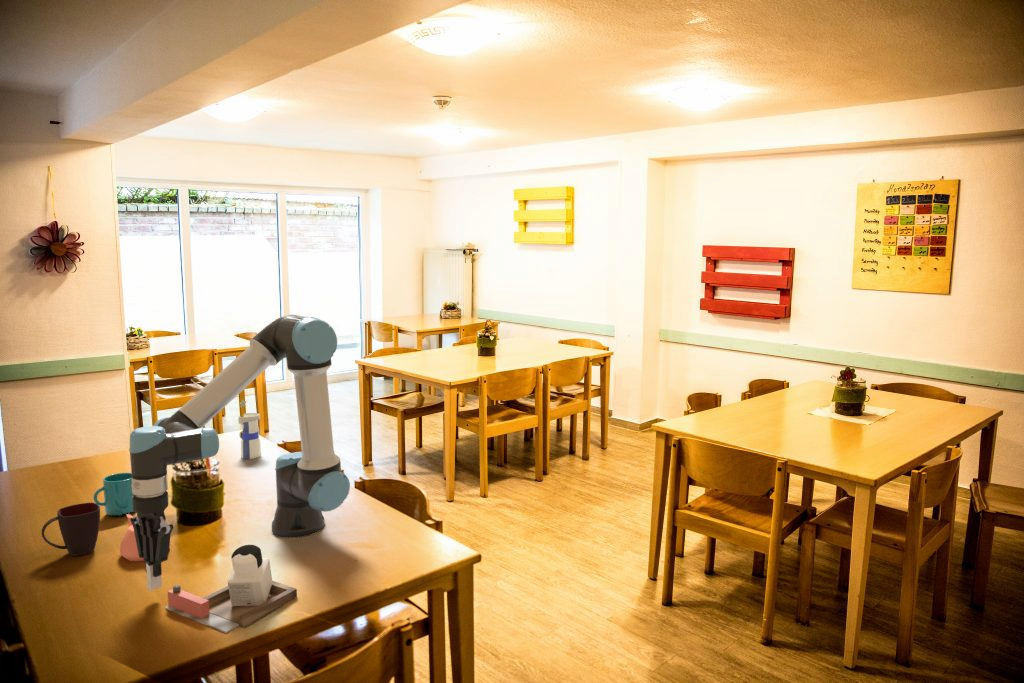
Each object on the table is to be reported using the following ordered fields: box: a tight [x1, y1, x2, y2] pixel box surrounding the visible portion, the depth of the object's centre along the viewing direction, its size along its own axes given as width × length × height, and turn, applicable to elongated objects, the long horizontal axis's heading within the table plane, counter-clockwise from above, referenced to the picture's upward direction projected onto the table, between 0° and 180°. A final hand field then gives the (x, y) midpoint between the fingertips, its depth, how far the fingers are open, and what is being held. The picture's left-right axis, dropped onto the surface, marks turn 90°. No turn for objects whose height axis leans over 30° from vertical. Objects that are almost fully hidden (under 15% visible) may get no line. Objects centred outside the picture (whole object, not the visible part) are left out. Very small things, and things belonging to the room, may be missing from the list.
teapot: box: [119, 513, 171, 563], centre depth 195 cm, size 12×18×10 cm
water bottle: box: [237, 399, 262, 460], centre depth 274 cm, size 8×9×25 cm
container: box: [227, 544, 273, 606], centre depth 167 cm, size 8×8×13 cm
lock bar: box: [167, 584, 210, 619], centre depth 164 cm, size 12×2×5 cm, turn 61°
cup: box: [92, 472, 134, 516], centre depth 224 cm, size 9×12×11 cm
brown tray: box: [164, 580, 298, 634], centre depth 168 cm, size 23×19×2 cm
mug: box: [41, 502, 101, 557], centre depth 194 cm, size 10×14×12 cm
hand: (154, 587), depth 169 cm, fingers closed
